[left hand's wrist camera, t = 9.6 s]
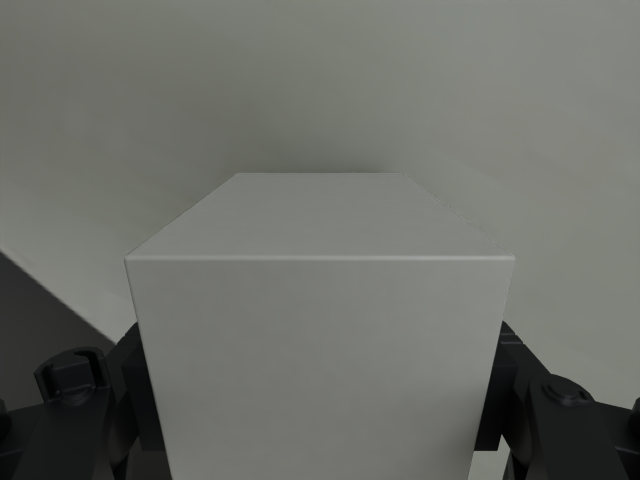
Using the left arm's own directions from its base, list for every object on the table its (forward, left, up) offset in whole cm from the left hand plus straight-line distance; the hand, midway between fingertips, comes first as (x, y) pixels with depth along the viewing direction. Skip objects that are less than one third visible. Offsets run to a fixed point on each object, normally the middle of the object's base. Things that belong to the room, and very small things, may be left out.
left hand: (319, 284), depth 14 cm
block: (0, 0, -3) cm, 3 cm away
